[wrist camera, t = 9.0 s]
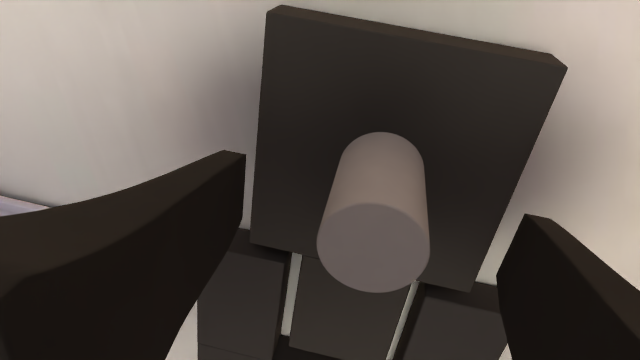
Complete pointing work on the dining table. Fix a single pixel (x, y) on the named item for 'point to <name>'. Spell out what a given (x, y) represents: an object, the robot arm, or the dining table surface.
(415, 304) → the charcoal pad
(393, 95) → the black pad
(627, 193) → the dining table surface
